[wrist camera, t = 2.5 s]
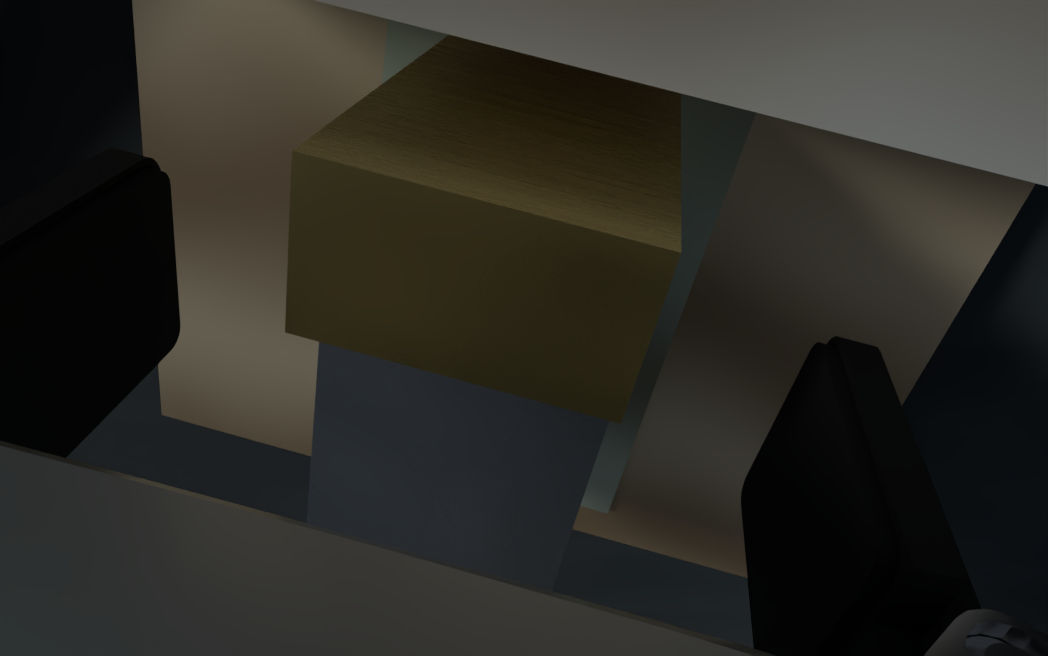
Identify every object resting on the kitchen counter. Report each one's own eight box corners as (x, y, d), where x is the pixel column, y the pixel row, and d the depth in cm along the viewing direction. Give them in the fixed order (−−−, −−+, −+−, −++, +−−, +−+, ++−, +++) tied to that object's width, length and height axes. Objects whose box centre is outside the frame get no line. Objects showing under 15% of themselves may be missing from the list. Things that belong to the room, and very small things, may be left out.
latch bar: (569, 434, 17) (510, 738, 11) (413, 391, 17) (272, 668, 11) (680, 72, 13) (681, 253, 7) (470, 18, 13) (291, 150, 7)
